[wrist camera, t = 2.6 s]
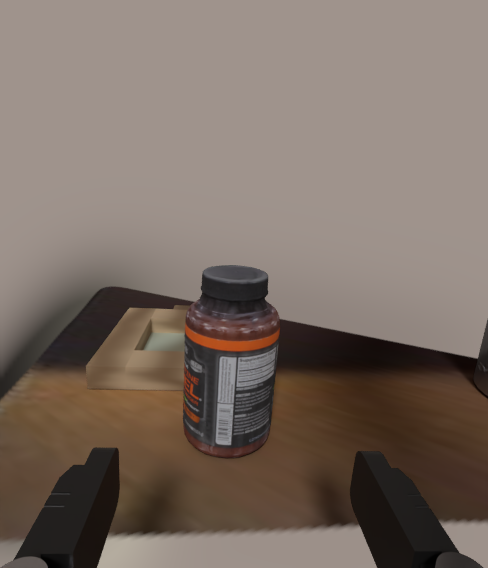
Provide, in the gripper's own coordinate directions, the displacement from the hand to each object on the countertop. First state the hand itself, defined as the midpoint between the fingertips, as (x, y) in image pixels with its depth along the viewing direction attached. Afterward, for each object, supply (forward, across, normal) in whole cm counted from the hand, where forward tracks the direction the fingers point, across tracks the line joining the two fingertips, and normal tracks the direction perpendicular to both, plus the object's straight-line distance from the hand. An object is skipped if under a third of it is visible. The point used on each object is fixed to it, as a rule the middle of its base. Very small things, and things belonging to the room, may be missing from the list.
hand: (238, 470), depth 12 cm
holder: (+23, +4, +7) cm, 25 cm away
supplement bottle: (+11, 0, +7) cm, 13 cm away
